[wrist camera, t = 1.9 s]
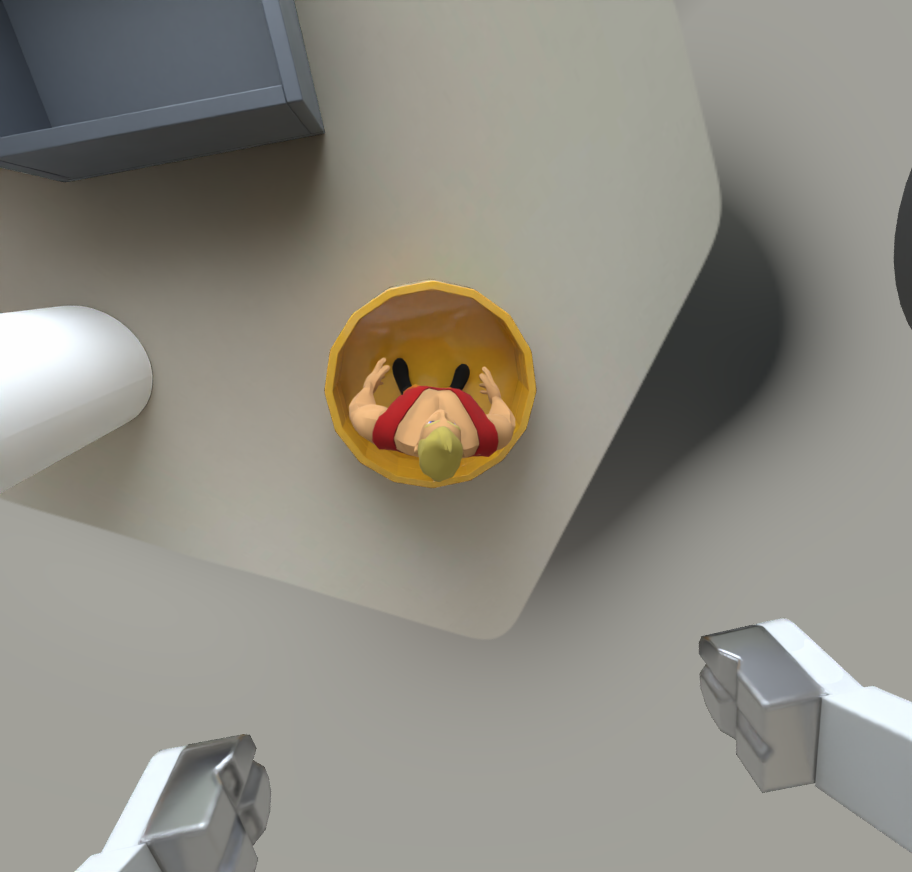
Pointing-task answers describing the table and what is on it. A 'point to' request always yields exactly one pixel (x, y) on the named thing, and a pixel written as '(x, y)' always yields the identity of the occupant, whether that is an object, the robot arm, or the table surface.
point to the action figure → (433, 420)
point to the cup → (64, 385)
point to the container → (148, 82)
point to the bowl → (429, 365)
